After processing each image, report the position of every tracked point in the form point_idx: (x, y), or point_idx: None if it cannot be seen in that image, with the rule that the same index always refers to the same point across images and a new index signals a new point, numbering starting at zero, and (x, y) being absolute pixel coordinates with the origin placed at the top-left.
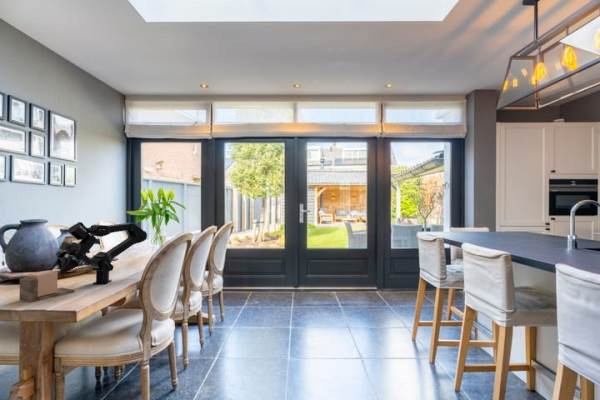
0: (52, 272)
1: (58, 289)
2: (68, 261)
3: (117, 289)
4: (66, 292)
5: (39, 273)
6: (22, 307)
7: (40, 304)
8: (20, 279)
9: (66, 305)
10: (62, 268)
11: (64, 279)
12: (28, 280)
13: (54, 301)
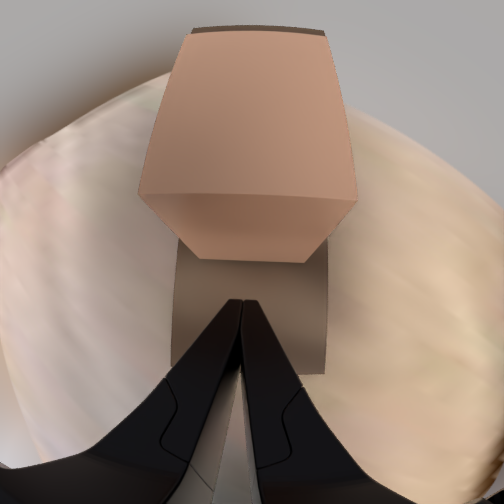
0: (167, 140)
1: (290, 327)
2: (108, 471)
3: (48, 456)
4: (173, 308)
5: (260, 63)
6: None
7: (137, 133)
8: (315, 33)
9: (38, 183)
10: (225, 345)
11: (479, 461)
12: (208, 27)
13: (115, 185)
